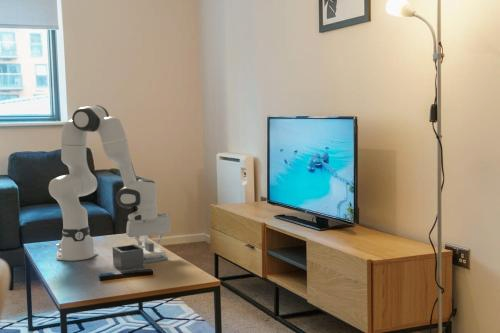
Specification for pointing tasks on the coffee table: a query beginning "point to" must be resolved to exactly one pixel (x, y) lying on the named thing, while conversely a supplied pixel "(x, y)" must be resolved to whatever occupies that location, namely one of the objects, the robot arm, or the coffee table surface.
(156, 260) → the slate mat
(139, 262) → the tin box
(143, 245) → the figurine
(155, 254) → the lid
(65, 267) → the coffee table surface
